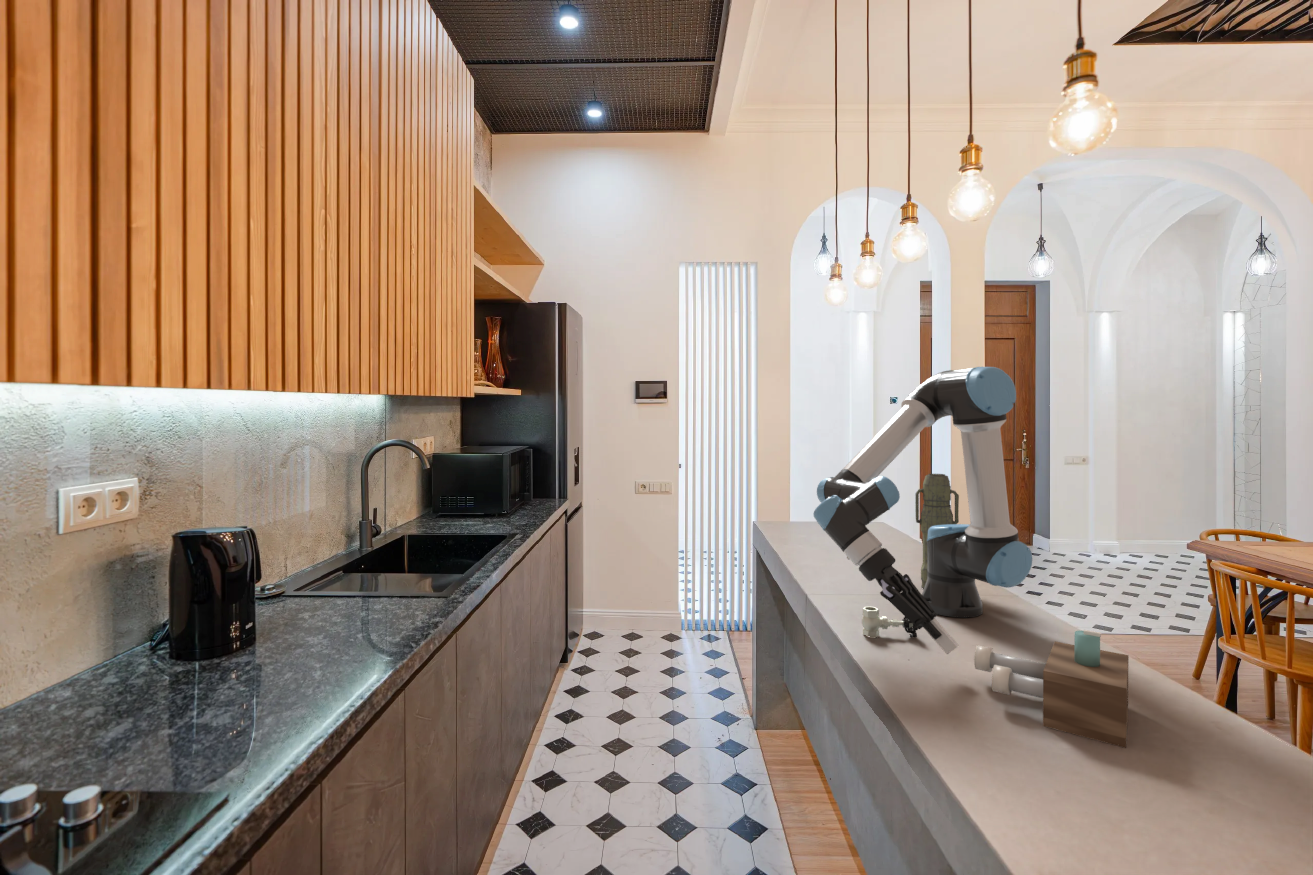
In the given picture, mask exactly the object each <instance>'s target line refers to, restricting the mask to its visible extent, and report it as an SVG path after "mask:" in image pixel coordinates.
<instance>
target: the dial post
mask: <svg viewBox="0 0 1313 875" xmlns="http://www.w3.org/2000/svg"><path fill="white" fill-rule="evenodd" d="M1101 637H1102V632H1100V631H1099V632H1098V631H1094V630H1087V629H1083V630H1074V645H1075V648H1074V661H1075V662H1076V663H1078V664H1080V665H1084V666H1088V667H1099V666H1100V650H1101Z"/></svg>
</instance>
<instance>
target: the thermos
mask: <svg viewBox="0 0 1313 875" xmlns="http://www.w3.org/2000/svg"><path fill="white" fill-rule="evenodd" d="M950 483H951V481H950V479H949V476H948V475H946V474H944V473H928V474H926V475H925V476H924V479H923V483H922V488H918V489H917V491H916V492H915V495H914V496H915V505H914V506H915V523H917V524H919V525H920V531H921V533H922V564H921V566H920V567H921V568H920V581H921V589H922V588H923V589H922V590H924V587H925V585H926V582H927V578H928V568H927V537H928V529H929V528H930V527H932V526H935V525H947V524H959V508H960V507H959V504H960V503H959V502H960V500H959V499H960V495H959V494H958V493H957V492H956V490H953V489H951V487H952V485H951V484H950ZM920 493H922V500H923V504H922V509H921V512H920V508H919V504H920V501H919V499H920V498H919V496H920V495H919V494H920ZM951 494H953V495H954V514H953V512H952V509H951V508H952V505H951V500H952V499H951V498H952V497H951V496H952V495H951ZM919 514H920V515H919Z"/></svg>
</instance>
